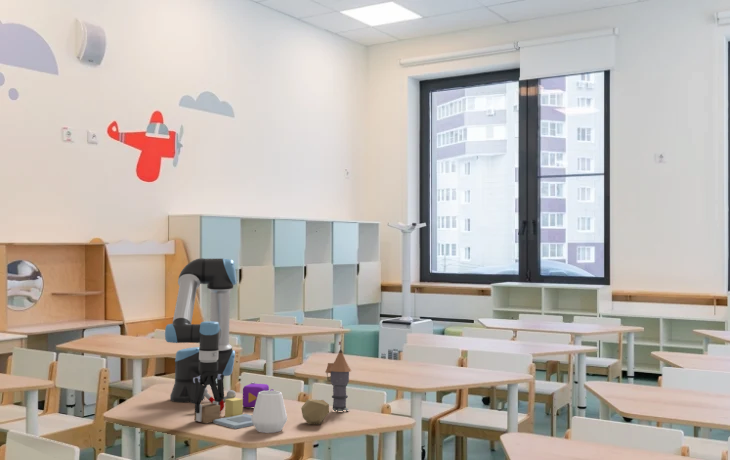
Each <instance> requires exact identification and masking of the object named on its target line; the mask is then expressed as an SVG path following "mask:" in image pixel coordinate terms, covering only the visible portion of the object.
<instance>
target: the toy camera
mask: <svg viewBox="0 0 730 460" xmlns="http://www.w3.org/2000/svg"><path fill="white" fill-rule="evenodd" d="M261 391H275V390H274V389H273V388H271V389H270V386H269V384H267V383H256V382H253V381H252V382H250V383H249V384H246V385H244V386H243V388H242V399H243V408H245V407H255V404H256V400H257V396H258V393H259V392H261Z"/></svg>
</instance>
